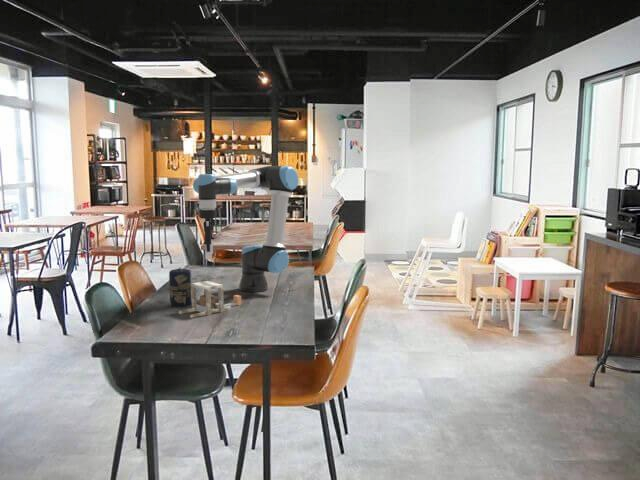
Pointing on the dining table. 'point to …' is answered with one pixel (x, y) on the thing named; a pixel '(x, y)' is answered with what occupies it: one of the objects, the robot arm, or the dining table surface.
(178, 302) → the canister
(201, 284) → the cream wooden rail frame
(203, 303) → the block
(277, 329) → the dining table surface
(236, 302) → the orange and grey bar
